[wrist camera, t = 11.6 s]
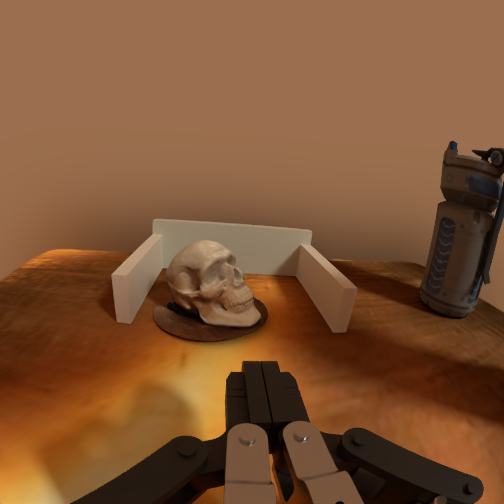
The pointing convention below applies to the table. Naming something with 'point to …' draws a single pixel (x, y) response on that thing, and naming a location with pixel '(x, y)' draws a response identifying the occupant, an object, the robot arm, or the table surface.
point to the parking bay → (237, 264)
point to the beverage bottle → (464, 231)
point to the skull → (208, 296)
